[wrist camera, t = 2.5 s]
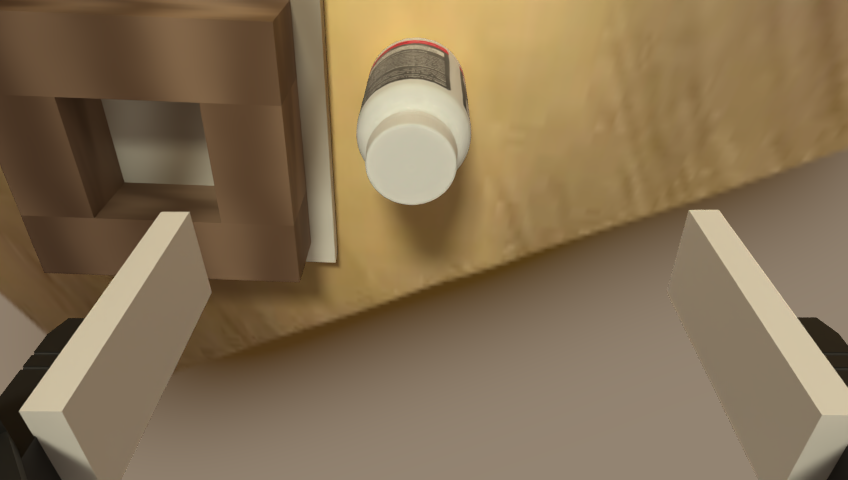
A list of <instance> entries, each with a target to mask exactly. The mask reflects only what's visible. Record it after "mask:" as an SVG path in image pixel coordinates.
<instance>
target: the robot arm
mask: <svg viewBox="0 0 848 480" xmlns="http://www.w3.org/2000/svg"><path fill="white" fill-rule="evenodd" d="M211 293H212V291H211V288H210V284H209V281H208V277H207V273H206V270H205V266H204V262H203V259H202V255H201V252H200V248H199V244H198V241H197V237H196V233H195V230H194V226H193V223H192V219H191V215H190V212H161V213H160V214H159V215H158V217H157V218H156V220H155V221H154V222H153V224H152V225H151V227H150V228H149V229H148V231H147V232H146V234H145V235H144V236H143V238H142V239H141V241H140V242H139V243H138V245H137V246H136V248H135V249H134V250H133V252H132V253H131V255H130V256H129V257H128V259H127V260H126V262H125V263H124V264H123V266H122V267H121V269H120V270H119V271H118V273H117V274H116V276H115V277H114V278H113V280H112V281H111V283H110V284H109V285H108V287H107V288H106V290H105V291H104V292H103V294H102V295H101V297H100V298H99V299H98V301H97V302H96V304H95V305H94V306H93V308H92V309H91V311H90V312H89V313H88V315H87V316H86V318H68V319H67V320H66V321H64V322H63V323H62V324H60V325H59V326H58V327H56V328H55V329H54V330H52V331H51V332H50V333H48V334H47V336H46V337H45V338H44V340H43V341H42V342H41V343H40V345H39V346H38V348H37V349H36V350H35V351H34V355H32V356H31V357H30V358H29V359H28V360H27V362H26V363H25V364H24V366H23V370H20V371H19V372H18V374H17V375H16V376H15V378H14V379H13V380H12V381H11V383H10V384H9V385H8V387H7V388H6V389H5V391H4V392H3V393H2V394H1V396H0V480H121V479H122V477H123V475H124V473H125V471H126V469H127V467H128V464H129V462H130V460H131V458H132V456H133V454H134V452H135V450H136V448H137V446H138V444H139V442H140V440H141V438H142V436H143V434H144V432H145V429H146V427H147V425H148V423H149V421H150V419H151V417H152V415H153V413H154V411H155V409H156V407H157V405H158V402H159V400H160V398H161V396H162V394H163V392H164V390H165V388H166V386H167V384H168V382H169V380H170V378H171V376H172V374H173V371H174V369H175V367H176V365H177V363H178V361H179V359H180V357H181V355H182V353H183V351H184V349H185V347H186V345H187V342H188V340H189V338H190V336H191V334H192V332H193V330H194V328H195V326H196V324H197V322H198V320H199V318H200V316H201V313H202V311H203V309H204V307H205V305H206V303H207V301H208V299H209V297H210V295H211ZM667 294H668V296H669V298H670V300H671V302H672V304H673V306H674V308H675V310H676V312H677V314H678V316H679V319H680V321H681V323H682V325H683V327H684V329H685V331H686V333H687V335H688V337H689V339H690V341H691V343H692V345H693V347H694V349H695V351H696V353H697V355H698V358H699V359H700V361H701V364H702V366H703V368H704V370H705V372H706V374H707V376H708V378H709V380H710V382H711V384H712V386H713V388H714V390H715V392H716V394H717V397H718V399H719V401H720V403H721V405H722V407H723V409H724V411H725V413H726V415H727V417H728V419H729V421H730V423H731V425H732V427H733V429H734V431H735V433H736V435H737V437H738V440H739V441H740V444H741V446H742V447H743V450H744V452H745V454H746V456H747V458H748V460H749V462H750V464H751V466H752V468H753V470H754V472H755V474H756V477H757V478H758V480H848V345H847V344H846V343H845V341H844V340H843V339H842V338H841V336H840V335H839V334H838V333H837V332H835V331H834V330H833V329H831V328H830V327H829V326H827V325H826V324H824V323H823V322H822V321H820V320H819V319H818V318H797V317H796V316H795V314H794V313H793V312H792V310H791V309H790V308H789V306H788V305H787V303H786V302H785V301H784V299H783V298H782V296H781V295H780V294H779V292H778V291H777V290H776V288H775V287H774V285H773V284H772V283H771V281H770V280H769V279H768V277H767V276H766V275H765V273H764V272H763V270H762V269H761V267H760V266H759V265H758V263H757V262H756V261H755V259H754V258H753V257H752V255H751V254H750V252H749V251H748V250H747V248H746V247H745V245H744V244H743V243H742V242H741V240H740V239H739V237H738V236H737V234H736V233H735V232H734V230H733V229H732V228H731V226H730V225H729V224H728V222H727V221H726V219H725V218H724V217H723V215H722V214H721V212H720V211H719V210H689V211H688V216H687V219H686V223H685V226H684V230H683V234H682V238H681V241H680V245H679V248H678V252H677V256H676V259H675V263H674V267H673V270H672V275H671V278H670V282H669V285H668V289H667Z"/></svg>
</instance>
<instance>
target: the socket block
mask: <svg viewBox="0 0 848 480" xmlns="http://www.w3.org/2000/svg"><path fill="white" fill-rule="evenodd" d="M0 165H1V168H2V170H3V173H4V175H5V178H6V180H7V183H8V185H9V187H10V190H11V192H12V195H13V197H14V200H15V202H16V204H17V207H18V209H19V212H20V214H21V217H22V219H23V222H24V224H25V226H26V229H27V231H28V234H29V236H30V239H31V241H32V244H33V246H34V248H35V251H36V253H37V256H38V258H39V261H40V263H41V266H42V268H43V270H44V273H65V274H92V275H116V274H117V273H118V271H119V270H120V269H121V267H122V266H123V264H124V263H125V262H126V260H127V259H128V257H129V256H130V255H131V253H132V252H133V250H134V249H135V248H136V246H137V245H138V243H139V242H140V241H141V239H142V238H143V236H144V235H145V234H146V232H147V231H148V229H149V228H150V227H151V225H152V224H153V222H154V221H155V220H156V218H157V217H158V215H159V214H160V213H161V212H190V215H191V219H192V223H193V226H194V230H195V233H196V237H197V241H198V244H199V248H200V252H201V255H202V259H203V262H204V266H205V270H206V273H207V277H208V279H225V280H252V281H278V282H300V280H301V276H302V273H303V269H304V266H305V263H306V262H332V263H336V258H337V254H338V253H337V236H336V218H335V200H334V183H333V165H332V147H331V130H330V112H329V94H328V77H327V59H326V41H325V23H324V6H323V0H0Z"/></svg>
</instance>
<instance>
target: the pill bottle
mask: <svg viewBox="0 0 848 480" xmlns="http://www.w3.org/2000/svg"><path fill="white" fill-rule="evenodd" d="M470 141H471V123H470V117H469V109H468V99H467V92H466V84H465V78H464V74H463V70H462V68H461V65H460V64H459V62H458V60H457V59H456V57H455V56H454V55H453V54H452V53H451V52H450V51H449V50H448V49H447V48H446V47H444V46H443V45H441V44H440V43H438V42H436V41H433V40H429V39H425V38H406V39H403V40H400V41H397V42H395V43H393V44H391V45H389V46H388V47H387V48H385V49H384V50H383V51H382V52H381V53H380V54H379V55H378V57H377V58H376V60H375V62H374V64H373V66H372V68H371V71H370V74H369V78H368V82H367V86H366V91H365V95H364V98H363V102H362V106H361V110H360V114H359V117H358V123H357V143H358V147H359V151H360V153H361V155H362V157H363V159H364V161H365V166H366V172H367V176H368V178H369V180H370V182H371V184H372V185H373V187H374V188H375V189H376V190H377V191H378V192H379V193H380V194H381V195H382V196H384V197H385V198H387V199H389V200H391V201H393V202H396V203H400V204H405V205H419V204H424V203H427V202H430V201H432V200H435V199H436V198H438V197H439V196H441V195H442V194H443V193H444V192H446V190H447V189H448V188H449V187H450V185H451V184H452V182H453V180H454V178H455V175H456V170H457V169H458V168H459V167H460V166H461V164H462V163H463V161H464V159H465V157H466V155H467V153H468V150H469V146H470Z"/></svg>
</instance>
